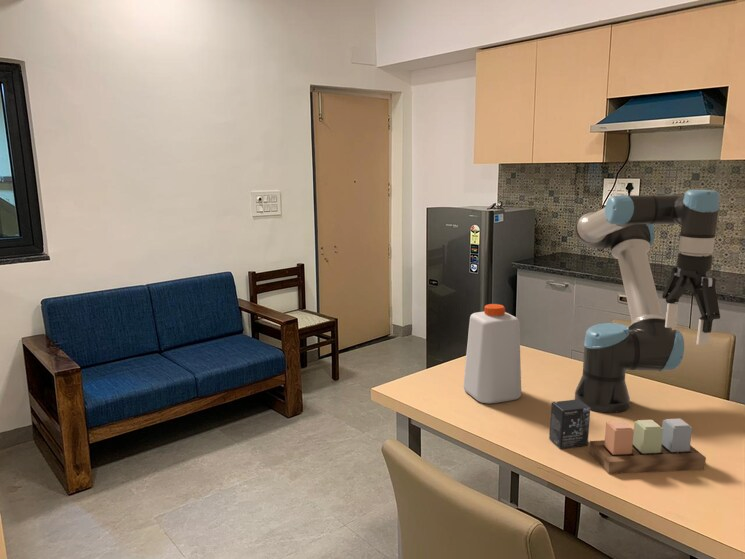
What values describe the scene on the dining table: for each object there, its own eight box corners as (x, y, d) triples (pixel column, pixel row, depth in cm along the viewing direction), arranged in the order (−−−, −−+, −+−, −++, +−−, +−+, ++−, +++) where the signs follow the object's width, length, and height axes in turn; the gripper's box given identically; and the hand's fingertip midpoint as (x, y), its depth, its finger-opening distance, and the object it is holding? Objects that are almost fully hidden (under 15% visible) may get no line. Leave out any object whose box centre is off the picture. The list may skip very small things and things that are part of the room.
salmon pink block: (613, 454, 134) (615, 429, 133) (604, 445, 138) (606, 420, 137) (631, 453, 134) (634, 428, 133) (622, 444, 139) (624, 419, 137)
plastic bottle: (500, 381, 187) (503, 298, 181) (526, 399, 173) (531, 309, 167) (458, 388, 182) (460, 302, 176) (482, 407, 168) (484, 314, 162)
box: (560, 450, 143) (562, 410, 141) (548, 439, 148) (550, 401, 146) (588, 446, 145) (591, 407, 142) (575, 435, 150) (578, 398, 148)
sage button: (642, 453, 135) (644, 428, 133) (632, 444, 139) (634, 419, 138) (660, 452, 135) (663, 427, 133) (650, 443, 139) (652, 418, 138)
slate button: (671, 452, 135) (673, 426, 134) (660, 442, 139) (663, 418, 138) (689, 451, 135) (692, 426, 134) (678, 442, 140) (681, 417, 138)
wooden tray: (608, 473, 132) (609, 461, 131) (589, 452, 142) (590, 440, 141) (704, 469, 133) (705, 457, 133) (679, 448, 143) (680, 437, 143)
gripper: (745, 262, 129) (733, 351, 134) (680, 244, 154) (671, 320, 159) (713, 263, 129) (702, 352, 134) (653, 245, 153) (645, 321, 158)
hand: (685, 335), depth 146 cm, fingers open, 13 cm apart
